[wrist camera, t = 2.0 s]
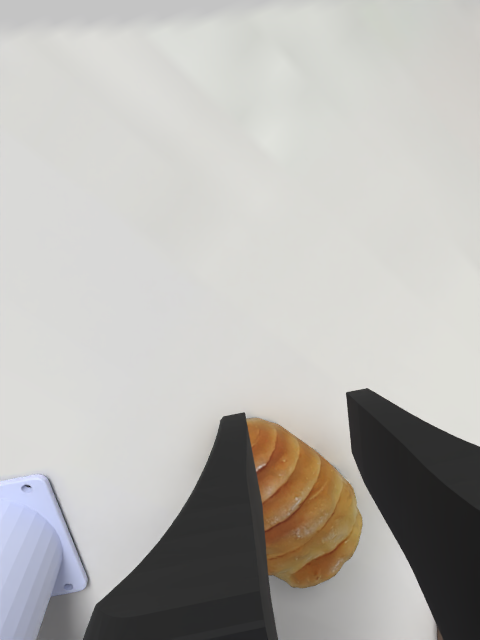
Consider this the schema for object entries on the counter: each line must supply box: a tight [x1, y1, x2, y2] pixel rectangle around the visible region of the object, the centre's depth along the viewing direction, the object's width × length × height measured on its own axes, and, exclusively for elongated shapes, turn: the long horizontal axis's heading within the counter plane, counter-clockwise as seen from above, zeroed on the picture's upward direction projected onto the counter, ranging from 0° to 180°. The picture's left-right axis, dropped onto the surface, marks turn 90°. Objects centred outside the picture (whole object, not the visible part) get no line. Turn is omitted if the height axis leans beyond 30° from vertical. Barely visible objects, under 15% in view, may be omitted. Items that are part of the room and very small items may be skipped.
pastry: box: [246, 418, 362, 588], centre depth 23 cm, size 9×7×4 cm
